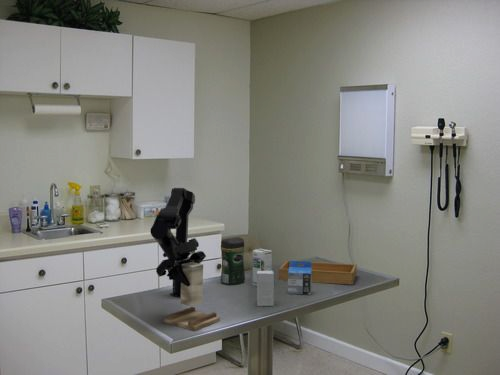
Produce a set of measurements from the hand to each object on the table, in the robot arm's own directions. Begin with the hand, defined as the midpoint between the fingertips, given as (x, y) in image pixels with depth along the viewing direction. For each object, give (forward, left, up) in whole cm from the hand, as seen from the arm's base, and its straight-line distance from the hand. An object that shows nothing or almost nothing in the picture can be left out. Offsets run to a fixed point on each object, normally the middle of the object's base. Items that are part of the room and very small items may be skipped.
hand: (194, 284), depth 189 cm
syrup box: (-9, +50, -13) cm, 52 cm away
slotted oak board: (-1, 0, -13) cm, 13 cm away
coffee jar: (-21, +46, -13) cm, 52 cm away
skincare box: (+7, +30, -13) cm, 33 cm away
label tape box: (+9, +50, -13) cm, 52 cm away
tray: (+3, +74, -13) cm, 75 cm away
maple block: (-1, 0, -7) cm, 7 cm away
